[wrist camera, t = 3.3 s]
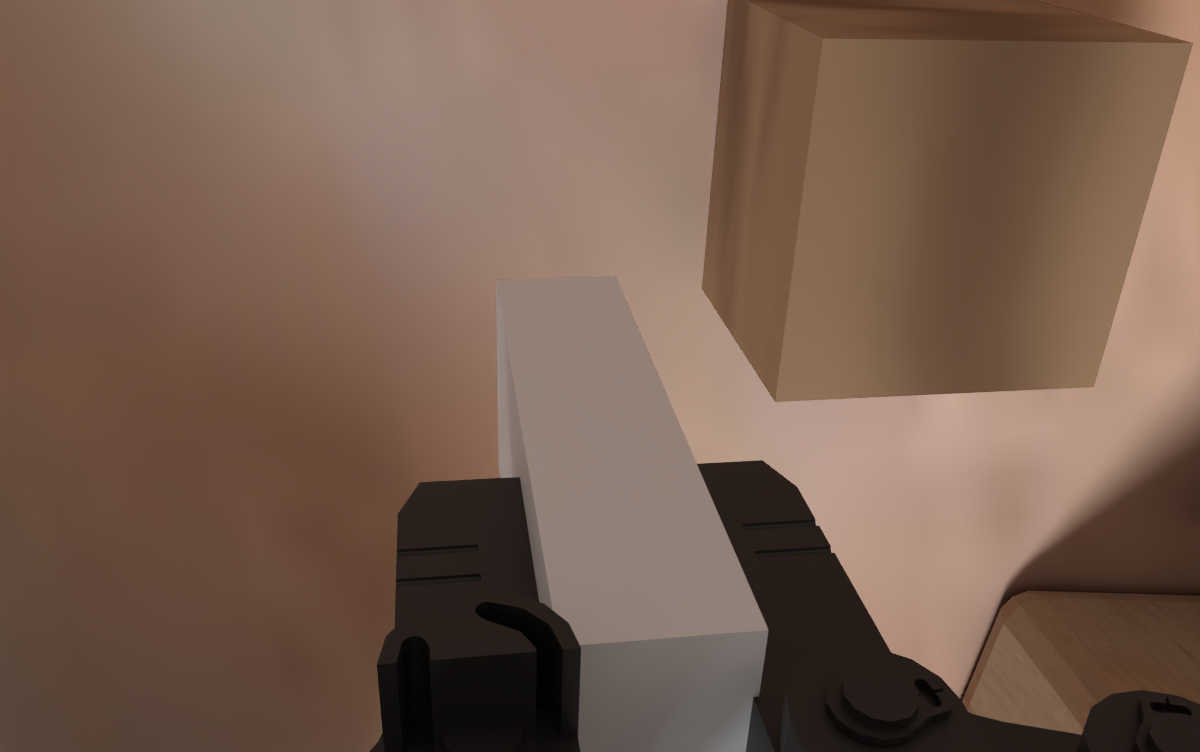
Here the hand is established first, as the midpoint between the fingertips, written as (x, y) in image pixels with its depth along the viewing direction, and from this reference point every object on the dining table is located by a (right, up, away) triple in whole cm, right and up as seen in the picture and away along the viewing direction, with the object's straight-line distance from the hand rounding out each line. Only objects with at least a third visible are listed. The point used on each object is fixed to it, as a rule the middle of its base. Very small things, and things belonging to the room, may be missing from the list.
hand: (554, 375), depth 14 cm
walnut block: (+7, +5, +12) cm, 14 cm away
